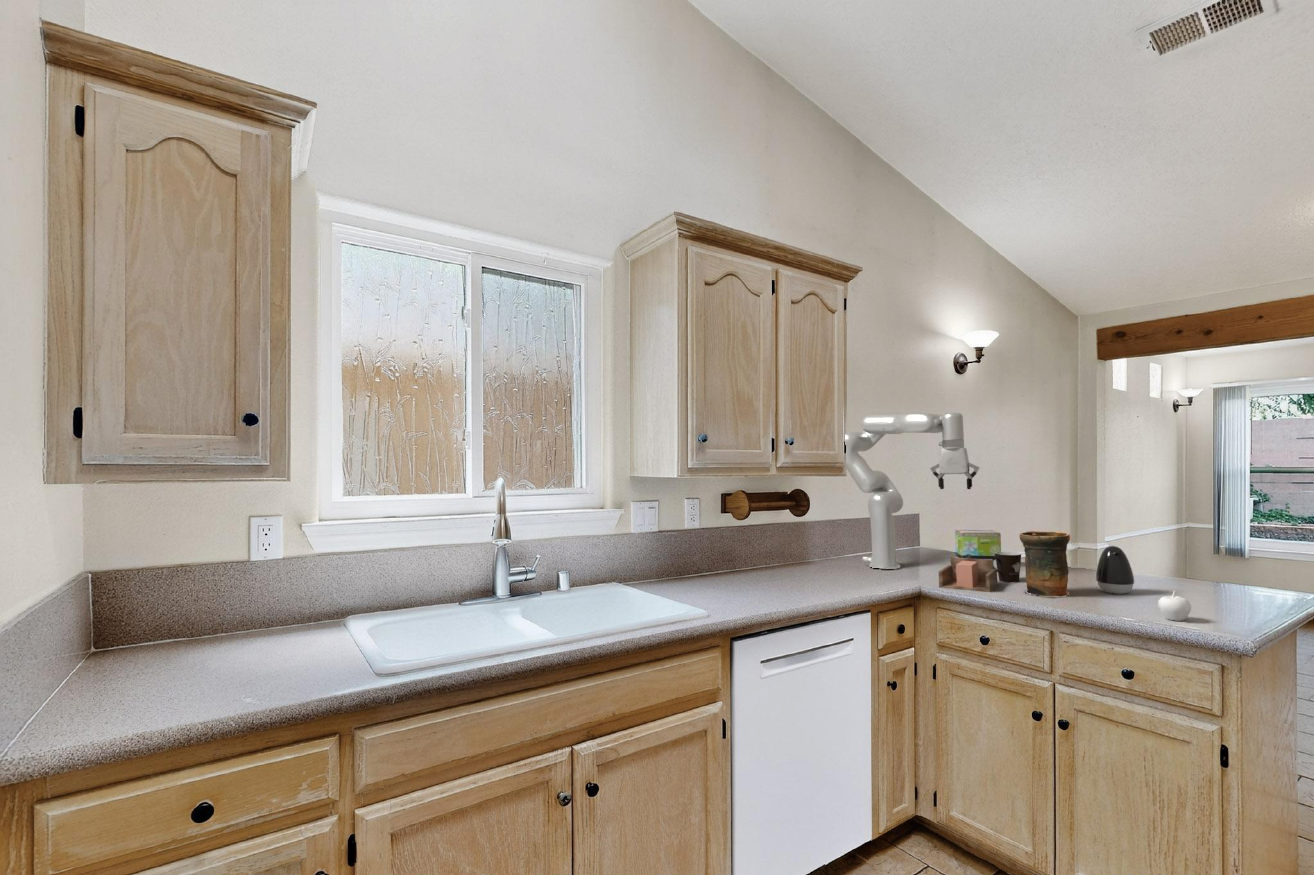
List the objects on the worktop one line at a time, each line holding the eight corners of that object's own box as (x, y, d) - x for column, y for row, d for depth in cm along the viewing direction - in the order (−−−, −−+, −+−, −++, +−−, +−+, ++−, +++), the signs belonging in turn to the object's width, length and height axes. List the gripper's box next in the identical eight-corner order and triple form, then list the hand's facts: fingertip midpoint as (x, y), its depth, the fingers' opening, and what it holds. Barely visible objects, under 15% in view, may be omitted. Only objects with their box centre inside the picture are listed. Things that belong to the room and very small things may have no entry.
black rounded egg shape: (1102, 595, 205) (1099, 547, 205) (1092, 588, 214) (1090, 543, 215) (1140, 596, 201) (1137, 548, 202) (1128, 590, 211) (1126, 544, 211)
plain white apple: (1164, 621, 171) (1162, 592, 171) (1154, 615, 178) (1153, 587, 178) (1196, 623, 168) (1194, 593, 169) (1185, 617, 175) (1183, 588, 175)
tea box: (963, 568, 259) (961, 532, 260) (955, 564, 269) (954, 529, 270) (1002, 568, 257) (1000, 531, 258) (993, 564, 267) (992, 529, 267)
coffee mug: (1016, 578, 235) (1014, 551, 236) (1027, 582, 227) (1025, 554, 227) (983, 578, 236) (982, 551, 237) (993, 583, 228) (991, 555, 228)
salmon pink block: (956, 586, 222) (956, 564, 222) (963, 581, 229) (962, 560, 230) (972, 587, 218) (971, 565, 219) (978, 582, 226) (977, 561, 227)
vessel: (1085, 596, 202) (1080, 534, 203) (1043, 599, 201) (1038, 536, 202) (1054, 588, 217) (1049, 529, 217) (1014, 591, 216) (1009, 532, 216)
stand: (939, 587, 223) (938, 562, 224) (949, 580, 235) (948, 557, 235) (989, 591, 214) (988, 566, 214) (997, 584, 225) (996, 560, 226)
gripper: (927, 445, 248) (929, 489, 247) (975, 443, 237) (978, 489, 237) (932, 445, 254) (934, 488, 253) (979, 444, 243) (981, 488, 243)
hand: (955, 489), depth 245 cm, fingers open, 9 cm apart
